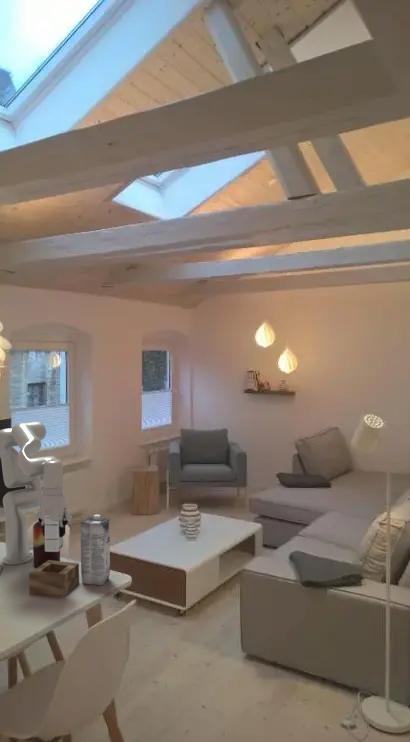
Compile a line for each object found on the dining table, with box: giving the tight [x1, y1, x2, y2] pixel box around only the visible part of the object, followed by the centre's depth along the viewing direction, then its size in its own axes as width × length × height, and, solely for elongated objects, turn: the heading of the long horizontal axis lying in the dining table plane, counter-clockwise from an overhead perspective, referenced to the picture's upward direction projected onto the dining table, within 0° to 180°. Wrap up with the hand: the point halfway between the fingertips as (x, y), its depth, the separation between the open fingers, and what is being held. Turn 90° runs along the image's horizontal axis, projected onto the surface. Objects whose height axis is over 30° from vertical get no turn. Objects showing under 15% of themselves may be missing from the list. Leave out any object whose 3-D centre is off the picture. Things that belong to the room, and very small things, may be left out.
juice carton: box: [80, 514, 111, 586], centre depth 225 cm, size 9×10×27 cm
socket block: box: [28, 560, 80, 598], centre depth 219 cm, size 14×14×8 cm
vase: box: [32, 520, 61, 570], centre depth 235 cm, size 11×11×26 cm
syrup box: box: [45, 515, 64, 552], centre depth 218 cm, size 6×6×14 cm
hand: (53, 535), depth 218 cm, fingers closed on syrup box, 6 cm apart
